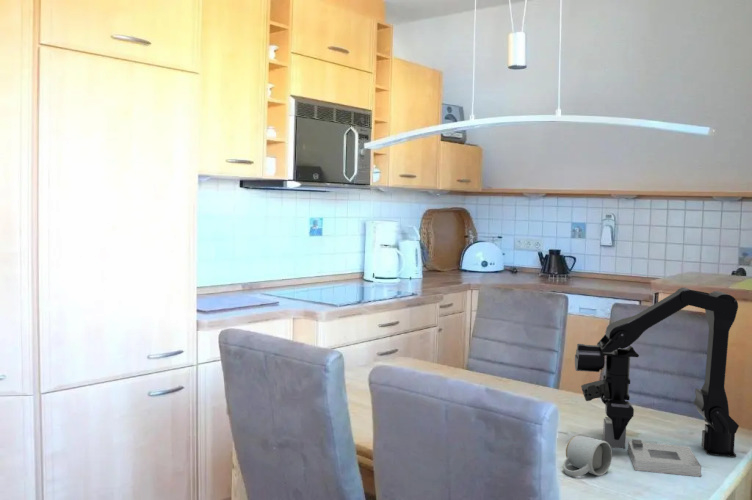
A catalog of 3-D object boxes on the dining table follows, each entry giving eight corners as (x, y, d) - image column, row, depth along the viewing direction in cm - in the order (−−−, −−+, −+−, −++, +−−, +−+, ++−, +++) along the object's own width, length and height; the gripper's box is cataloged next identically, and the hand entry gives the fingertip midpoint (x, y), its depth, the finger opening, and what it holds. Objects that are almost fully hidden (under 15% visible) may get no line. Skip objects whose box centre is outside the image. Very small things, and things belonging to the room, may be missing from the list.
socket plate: (688, 456, 171) (689, 443, 170) (700, 476, 158) (701, 462, 158) (627, 450, 174) (628, 438, 173) (635, 470, 161) (635, 456, 161)
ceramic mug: (582, 460, 166) (583, 429, 166) (612, 471, 160) (613, 438, 159) (553, 471, 160) (554, 438, 159) (583, 483, 153) (584, 449, 153)
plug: (623, 443, 179) (624, 418, 179) (625, 448, 175) (626, 422, 175) (602, 441, 180) (603, 416, 180) (604, 446, 176) (605, 421, 176)
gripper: (581, 362, 187) (579, 419, 188) (586, 379, 169) (583, 442, 170) (625, 365, 185) (622, 423, 186) (635, 383, 167) (632, 447, 168)
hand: (614, 433), depth 178 cm, fingers open, 9 cm apart
